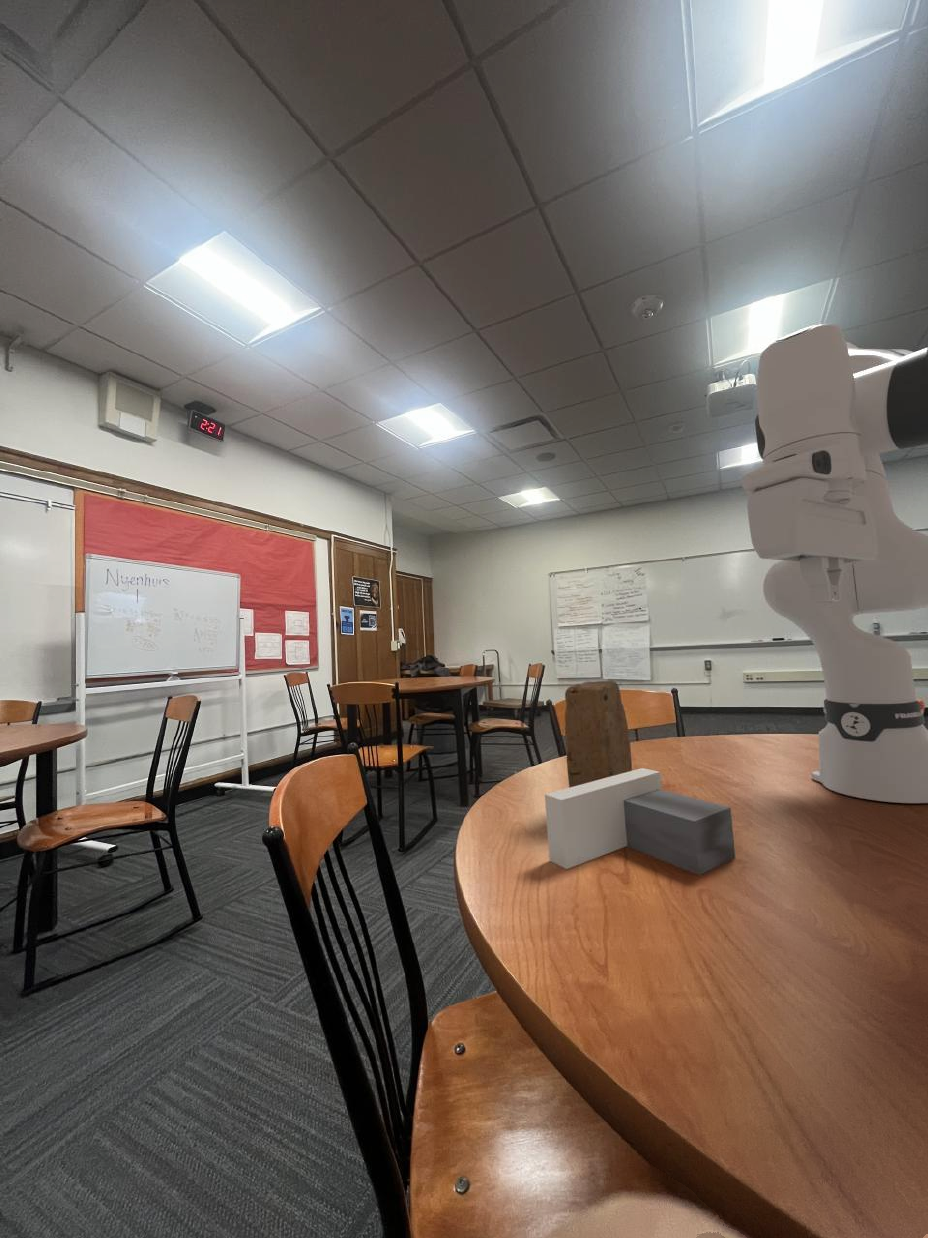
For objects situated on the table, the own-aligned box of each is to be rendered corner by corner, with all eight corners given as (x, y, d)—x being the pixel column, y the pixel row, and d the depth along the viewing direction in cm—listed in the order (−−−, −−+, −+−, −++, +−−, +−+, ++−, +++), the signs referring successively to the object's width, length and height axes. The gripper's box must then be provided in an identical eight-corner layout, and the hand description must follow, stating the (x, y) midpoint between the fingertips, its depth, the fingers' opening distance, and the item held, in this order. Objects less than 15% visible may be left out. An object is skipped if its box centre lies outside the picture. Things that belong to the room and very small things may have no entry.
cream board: (647, 825, 69) (642, 768, 69) (665, 831, 66) (660, 771, 67) (549, 860, 60) (544, 794, 60) (566, 869, 57) (561, 800, 57)
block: (611, 824, 70) (600, 685, 71) (565, 815, 75) (556, 685, 76) (641, 803, 78) (631, 678, 79) (598, 796, 83) (589, 679, 84)
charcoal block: (662, 834, 66) (658, 789, 66) (735, 859, 57) (730, 807, 58) (627, 847, 62) (623, 800, 63) (699, 876, 54) (694, 821, 54)
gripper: (825, 495, 61) (837, 604, 60) (731, 474, 51) (744, 606, 50) (888, 478, 56) (902, 598, 55) (798, 451, 45) (813, 599, 44)
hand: (826, 602), depth 52 cm, fingers closed
